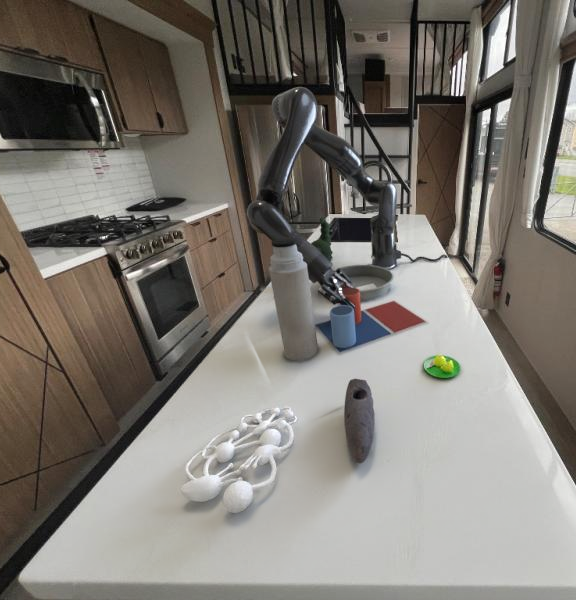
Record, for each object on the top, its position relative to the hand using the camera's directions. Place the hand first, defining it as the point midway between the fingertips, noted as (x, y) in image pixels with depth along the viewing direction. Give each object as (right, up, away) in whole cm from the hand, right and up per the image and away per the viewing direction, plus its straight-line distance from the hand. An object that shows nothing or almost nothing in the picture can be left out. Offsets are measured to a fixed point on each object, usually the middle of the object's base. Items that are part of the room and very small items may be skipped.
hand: (356, 304), depth 90 cm
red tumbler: (-2, -5, +3) cm, 6 cm away
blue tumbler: (-2, -10, -7) cm, 12 cm away
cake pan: (-1, +5, +24) cm, 24 cm away
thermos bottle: (-12, -12, -10) cm, 20 cm away
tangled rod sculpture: (-15, -25, -37) cm, 47 cm away
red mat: (+11, -4, +5) cm, 12 cm away
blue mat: (-1, -7, -2) cm, 7 cm away
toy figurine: (-18, +17, +50) cm, 56 cm away
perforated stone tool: (+4, -22, -33) cm, 40 cm away
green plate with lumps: (+21, -14, -17) cm, 30 cm away
